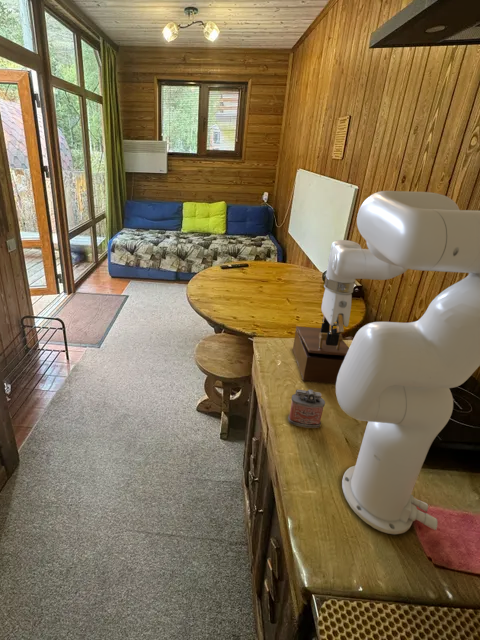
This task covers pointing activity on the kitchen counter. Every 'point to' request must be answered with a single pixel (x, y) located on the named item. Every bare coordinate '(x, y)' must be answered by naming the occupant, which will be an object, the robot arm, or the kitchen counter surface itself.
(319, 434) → the kitchen counter surface
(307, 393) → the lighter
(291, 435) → the kitchen counter surface
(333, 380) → the chest
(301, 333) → the lid
